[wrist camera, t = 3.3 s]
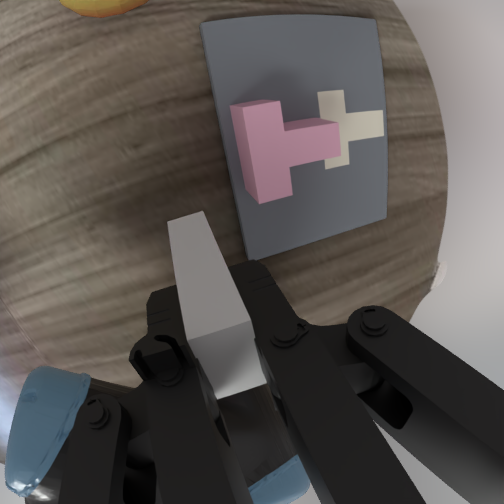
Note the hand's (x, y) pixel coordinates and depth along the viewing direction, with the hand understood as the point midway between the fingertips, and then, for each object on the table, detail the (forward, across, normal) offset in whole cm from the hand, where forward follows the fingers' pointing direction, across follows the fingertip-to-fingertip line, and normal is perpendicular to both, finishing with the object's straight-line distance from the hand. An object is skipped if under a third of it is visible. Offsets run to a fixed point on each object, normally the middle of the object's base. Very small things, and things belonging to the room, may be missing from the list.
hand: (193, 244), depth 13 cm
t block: (+15, +9, 0) cm, 17 cm away
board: (+16, +14, 0) cm, 21 cm away
